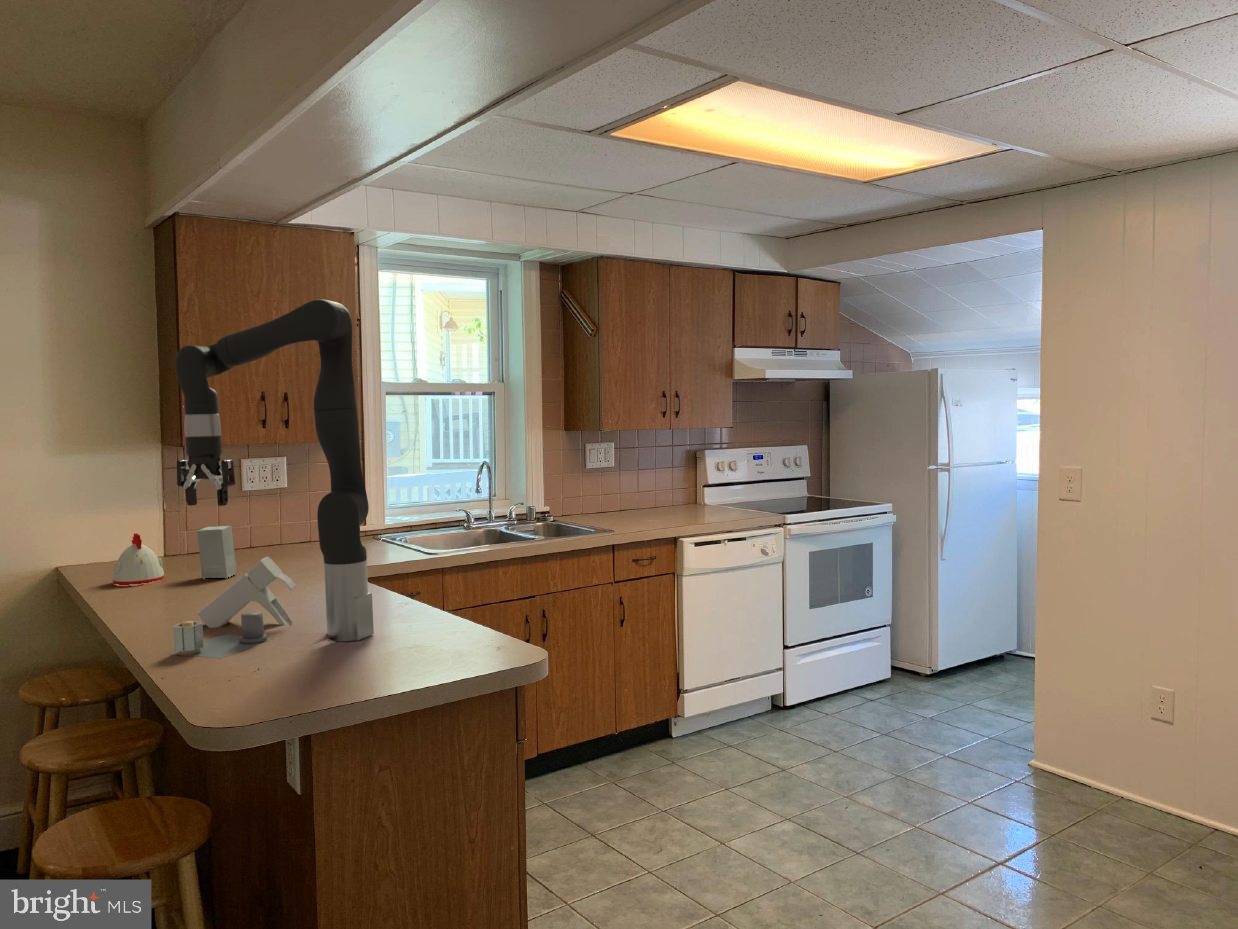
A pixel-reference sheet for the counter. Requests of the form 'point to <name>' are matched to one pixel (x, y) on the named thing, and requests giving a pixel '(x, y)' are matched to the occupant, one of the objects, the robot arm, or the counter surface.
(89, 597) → the counter surface
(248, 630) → the board
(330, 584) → the robot arm
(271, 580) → the faucet
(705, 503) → the counter surface
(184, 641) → the tube
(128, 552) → the chicken hat
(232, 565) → the skincare box
